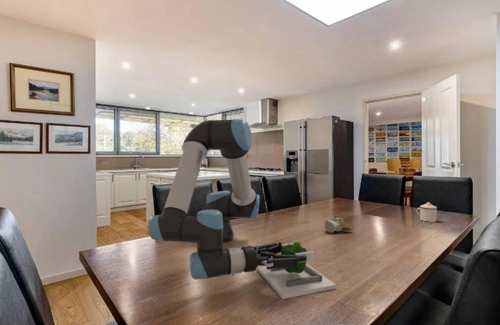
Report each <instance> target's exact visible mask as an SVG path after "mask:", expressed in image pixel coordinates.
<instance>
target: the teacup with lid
mask: <svg viewBox="0 0 500 325" xmlns="http://www.w3.org/2000/svg"><path fill="white" fill-rule="evenodd" d="M437 209H438V207H437V206H435V205H433V204H432V203H431V202H428V201H427V202H426V203H425V204H421V205H420V206H419V207H417V208H416V213H417V215H418V216H419V217H420V218H419V219H420V220H419V221H421V220H423V221H422V222H424V221H429V222H428V223H436V222H435V221H437V218H438V216H437V215H438V213H437V212H438V210H437Z"/></svg>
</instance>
